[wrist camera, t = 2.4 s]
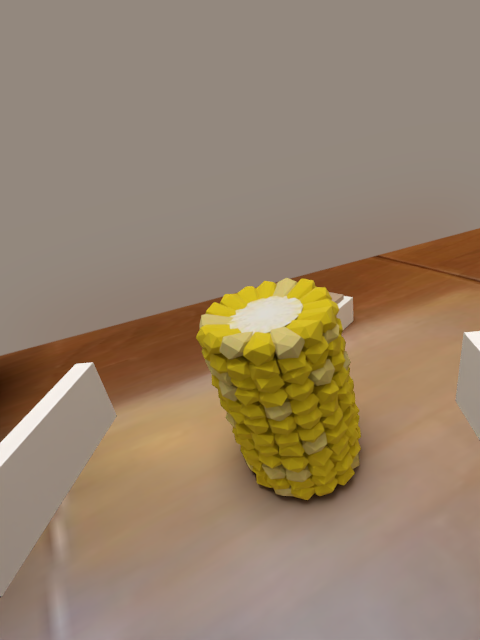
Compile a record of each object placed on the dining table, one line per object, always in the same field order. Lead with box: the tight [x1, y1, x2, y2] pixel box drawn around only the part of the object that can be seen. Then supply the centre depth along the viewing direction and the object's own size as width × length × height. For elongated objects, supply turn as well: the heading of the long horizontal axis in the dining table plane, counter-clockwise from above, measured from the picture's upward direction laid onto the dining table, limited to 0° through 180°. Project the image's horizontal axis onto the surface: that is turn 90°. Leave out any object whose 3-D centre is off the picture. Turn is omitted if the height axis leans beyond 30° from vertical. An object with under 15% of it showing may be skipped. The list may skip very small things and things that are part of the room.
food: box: [196, 278, 361, 500], centre depth 25 cm, size 15×12×10 cm
